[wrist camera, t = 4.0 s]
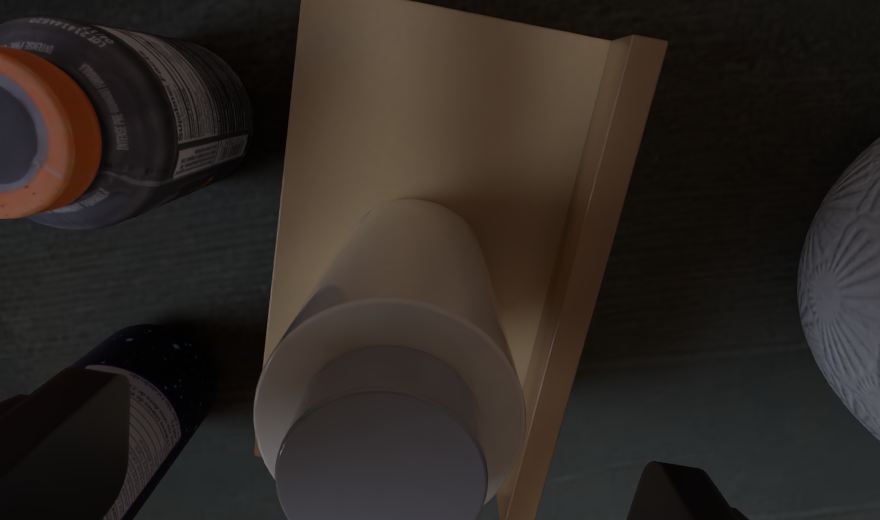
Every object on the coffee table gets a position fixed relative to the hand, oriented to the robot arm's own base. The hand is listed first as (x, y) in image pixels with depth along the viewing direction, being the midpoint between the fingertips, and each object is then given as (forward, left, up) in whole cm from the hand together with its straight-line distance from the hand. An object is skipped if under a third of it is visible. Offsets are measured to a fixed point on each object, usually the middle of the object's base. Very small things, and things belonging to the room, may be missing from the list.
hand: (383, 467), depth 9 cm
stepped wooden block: (0, 0, -17) cm, 17 cm away
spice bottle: (0, 0, -10) cm, 10 cm away
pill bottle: (-10, +3, -17) cm, 20 cm away
